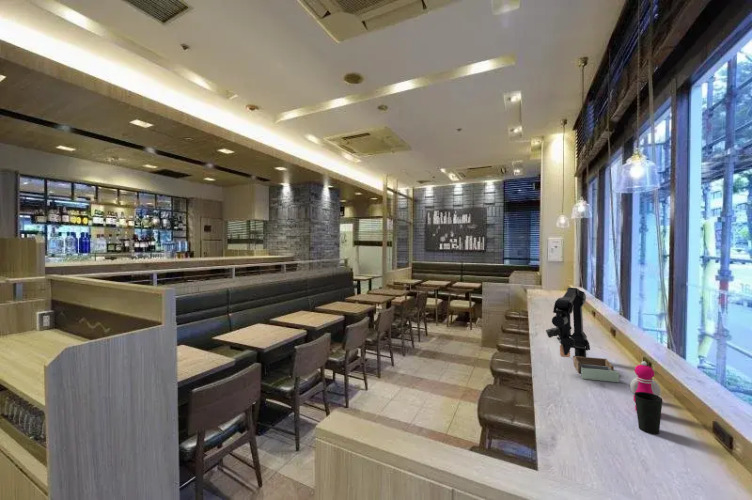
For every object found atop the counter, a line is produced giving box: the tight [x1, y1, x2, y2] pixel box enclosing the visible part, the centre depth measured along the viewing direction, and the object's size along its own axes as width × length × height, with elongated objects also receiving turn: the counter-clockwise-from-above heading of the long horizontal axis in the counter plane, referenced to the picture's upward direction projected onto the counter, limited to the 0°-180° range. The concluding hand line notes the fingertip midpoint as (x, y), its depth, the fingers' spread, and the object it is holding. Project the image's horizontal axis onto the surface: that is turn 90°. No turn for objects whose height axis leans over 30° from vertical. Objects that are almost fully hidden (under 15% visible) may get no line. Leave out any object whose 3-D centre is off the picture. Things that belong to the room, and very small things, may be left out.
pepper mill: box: [633, 360, 655, 412], centre depth 128 cm, size 7×7×20 cm
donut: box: [629, 377, 661, 397], centre depth 138 cm, size 10×3×10 cm, turn 59°
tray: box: [580, 364, 620, 383], centre depth 164 cm, size 12×15×5 cm
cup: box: [633, 392, 663, 435], centre depth 116 cm, size 8×8×12 cm
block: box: [559, 344, 571, 358], centre depth 169 cm, size 4×4×5 cm
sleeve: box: [572, 355, 615, 374], centre depth 172 cm, size 12×15×5 cm
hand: (564, 353), depth 169 cm, fingers closed on block, 4 cm apart
